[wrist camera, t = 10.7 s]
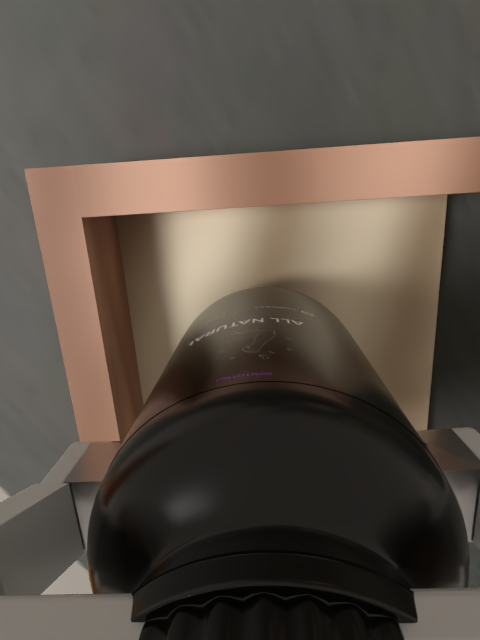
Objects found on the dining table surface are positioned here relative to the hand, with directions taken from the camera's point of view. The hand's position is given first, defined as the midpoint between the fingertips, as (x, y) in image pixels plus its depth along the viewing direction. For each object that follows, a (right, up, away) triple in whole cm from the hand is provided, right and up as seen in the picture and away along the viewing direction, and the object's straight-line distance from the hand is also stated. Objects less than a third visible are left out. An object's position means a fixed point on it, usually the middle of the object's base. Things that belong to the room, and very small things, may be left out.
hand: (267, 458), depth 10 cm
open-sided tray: (0, +2, +7) cm, 8 cm away
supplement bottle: (0, +2, +5) cm, 6 cm away
